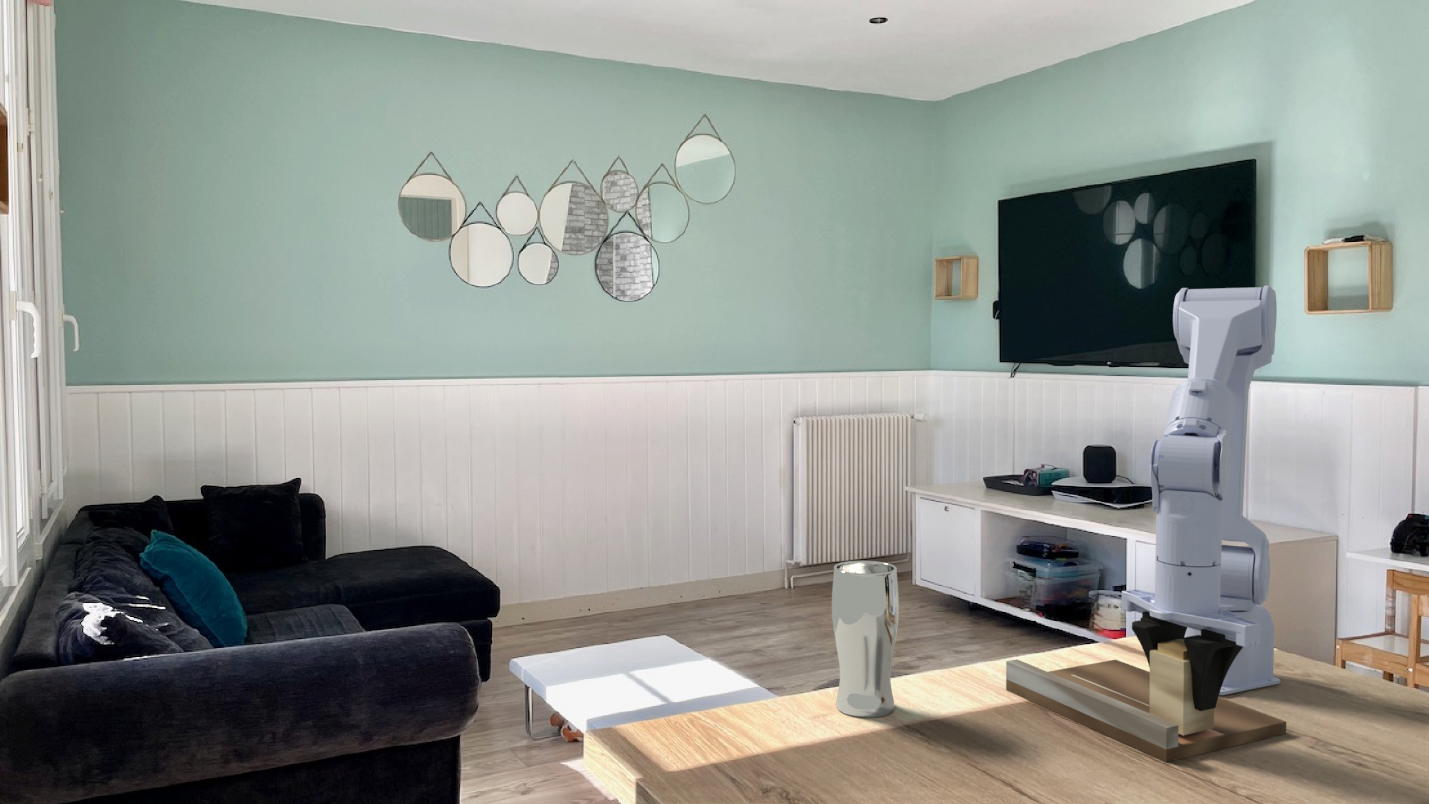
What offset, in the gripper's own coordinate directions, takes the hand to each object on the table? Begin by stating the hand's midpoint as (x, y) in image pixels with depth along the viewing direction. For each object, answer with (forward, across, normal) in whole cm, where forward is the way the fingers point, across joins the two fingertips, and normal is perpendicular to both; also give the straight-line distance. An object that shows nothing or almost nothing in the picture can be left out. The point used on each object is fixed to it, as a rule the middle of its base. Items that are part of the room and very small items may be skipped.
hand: (1185, 700), depth 102 cm
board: (+4, -8, +2) cm, 9 cm away
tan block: (+2, 0, 0) cm, 2 cm away
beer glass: (+4, -21, -23) cm, 31 cm away
